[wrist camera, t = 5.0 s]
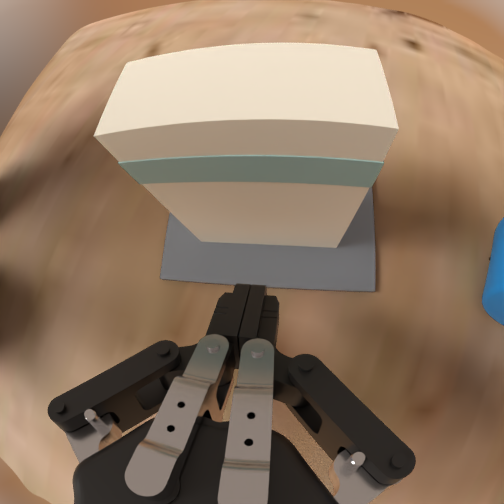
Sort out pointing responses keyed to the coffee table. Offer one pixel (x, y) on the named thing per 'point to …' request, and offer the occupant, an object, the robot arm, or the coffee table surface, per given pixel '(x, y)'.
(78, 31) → the coffee table surface
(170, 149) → the box
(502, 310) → the alarm clock
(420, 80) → the coffee table surface
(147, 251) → the coffee table surface
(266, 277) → the mat
